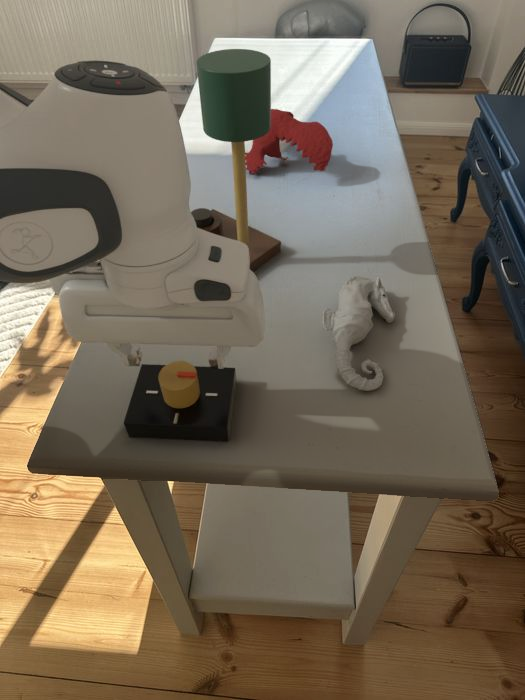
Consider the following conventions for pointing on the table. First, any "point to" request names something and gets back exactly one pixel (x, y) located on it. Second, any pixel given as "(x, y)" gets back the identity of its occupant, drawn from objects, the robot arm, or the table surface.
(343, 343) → the seahorse
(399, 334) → the table surface
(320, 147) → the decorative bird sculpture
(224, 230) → the lamp base
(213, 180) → the table surface
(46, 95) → the robot arm
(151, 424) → the dimmer
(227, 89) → the lamp
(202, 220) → the button
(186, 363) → the dimmer knob
